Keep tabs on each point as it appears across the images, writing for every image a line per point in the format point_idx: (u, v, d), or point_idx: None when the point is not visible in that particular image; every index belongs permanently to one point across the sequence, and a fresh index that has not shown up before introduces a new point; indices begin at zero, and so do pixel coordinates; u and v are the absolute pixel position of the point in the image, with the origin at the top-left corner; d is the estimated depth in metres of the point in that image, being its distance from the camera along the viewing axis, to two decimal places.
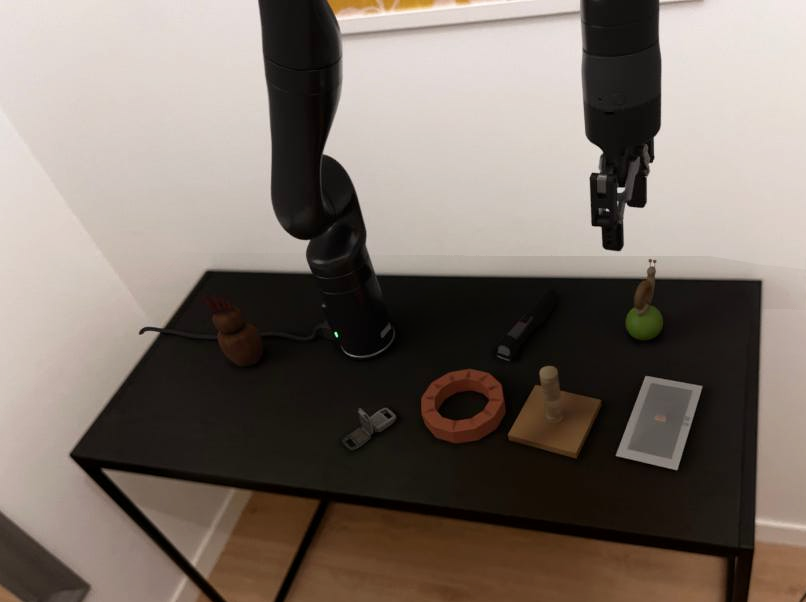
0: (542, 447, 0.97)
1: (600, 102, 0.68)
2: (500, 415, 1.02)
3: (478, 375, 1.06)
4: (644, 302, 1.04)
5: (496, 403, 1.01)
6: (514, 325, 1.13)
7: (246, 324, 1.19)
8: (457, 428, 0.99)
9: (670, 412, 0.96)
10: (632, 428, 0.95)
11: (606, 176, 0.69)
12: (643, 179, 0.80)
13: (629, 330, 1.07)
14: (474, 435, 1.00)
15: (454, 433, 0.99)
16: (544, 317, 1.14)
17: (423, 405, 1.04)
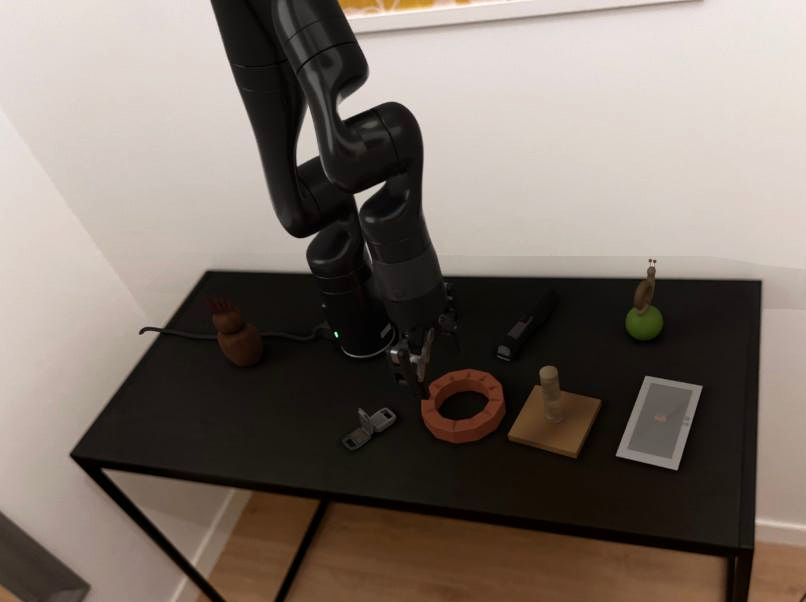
0: (542, 447, 0.97)
1: (387, 293, 0.81)
2: (500, 415, 1.02)
3: (478, 375, 1.06)
4: (644, 302, 1.04)
5: (496, 403, 1.01)
6: (514, 325, 1.13)
7: (246, 324, 1.19)
8: (457, 428, 0.99)
9: (670, 412, 0.96)
10: (632, 428, 0.95)
11: (397, 351, 0.83)
12: (452, 334, 0.93)
13: (629, 330, 1.07)
14: (474, 435, 1.00)
15: (454, 433, 0.99)
16: (544, 317, 1.14)
17: (423, 405, 1.04)
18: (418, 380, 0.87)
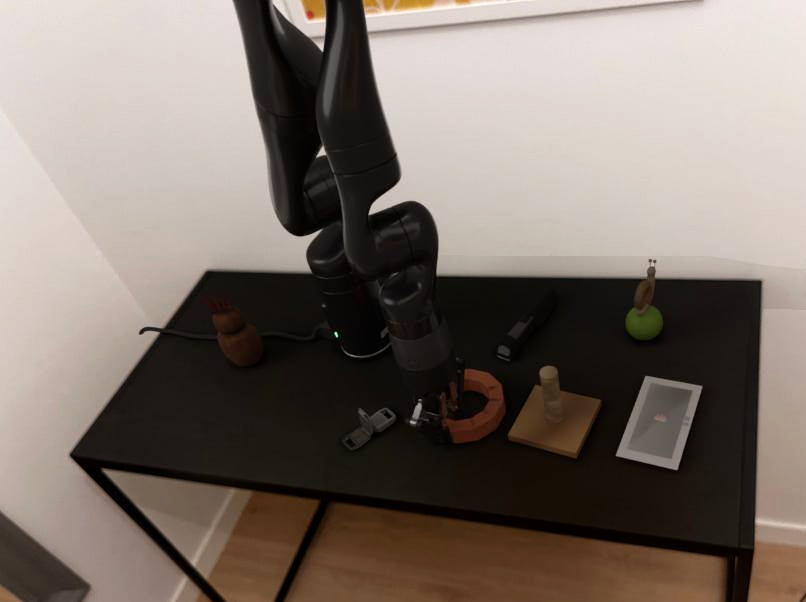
0: (542, 447, 0.97)
1: (402, 364, 0.88)
2: (500, 415, 1.02)
3: (478, 375, 1.06)
4: (644, 302, 1.04)
5: (496, 403, 1.01)
6: (514, 325, 1.13)
7: (246, 324, 1.19)
8: (457, 427, 0.99)
9: (670, 412, 0.96)
10: (632, 428, 0.95)
11: (415, 424, 0.92)
12: (453, 413, 1.00)
13: (629, 330, 1.07)
14: (474, 435, 1.00)
15: (454, 433, 0.99)
16: (544, 317, 1.14)
17: None
18: (442, 428, 0.97)
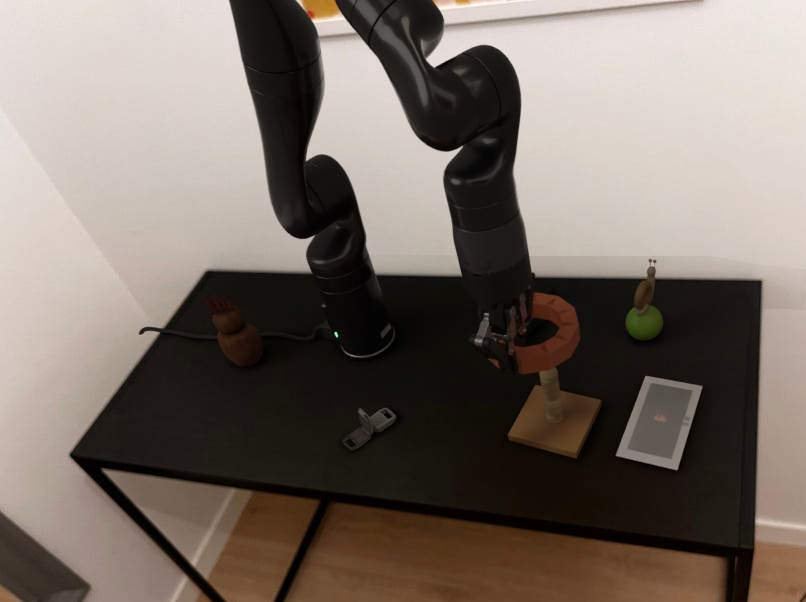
0: (542, 447, 0.97)
1: (469, 266, 0.73)
2: (575, 342, 0.86)
3: (545, 298, 0.91)
4: (644, 302, 1.04)
5: (570, 327, 0.86)
6: None
7: (246, 324, 1.19)
8: (525, 354, 0.84)
9: (670, 412, 0.96)
10: (632, 428, 0.95)
11: (482, 342, 0.76)
12: (520, 338, 0.84)
13: (629, 330, 1.07)
14: (545, 363, 0.84)
15: (522, 361, 0.84)
16: None
17: None
18: (509, 353, 0.82)
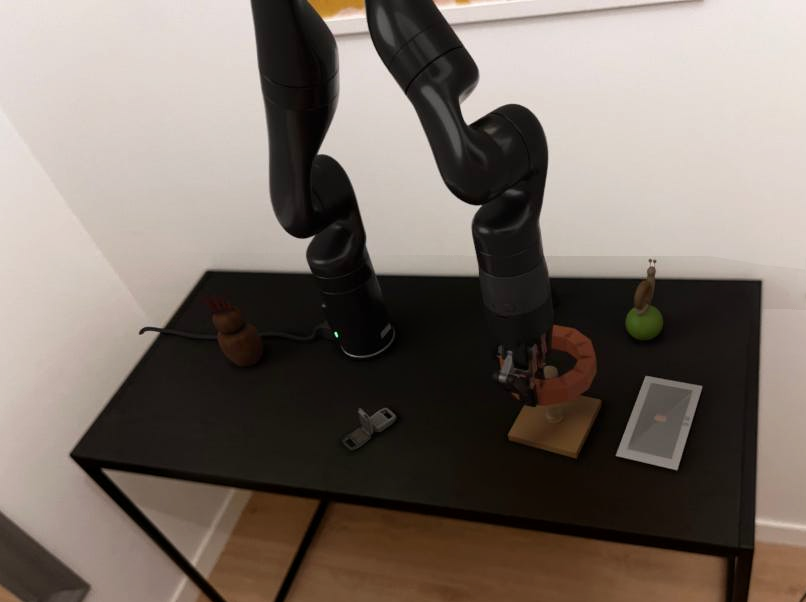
0: (542, 447, 0.97)
1: (494, 308, 0.76)
2: (592, 375, 0.90)
3: (563, 331, 0.94)
4: (644, 302, 1.04)
5: (588, 360, 0.89)
6: None
7: (246, 324, 1.19)
8: (545, 387, 0.87)
9: (670, 412, 0.96)
10: (632, 428, 0.95)
11: (505, 379, 0.80)
12: (540, 371, 0.88)
13: (629, 330, 1.07)
14: (564, 396, 0.88)
15: (542, 393, 0.87)
16: None
17: (502, 364, 0.92)
18: (530, 387, 0.85)
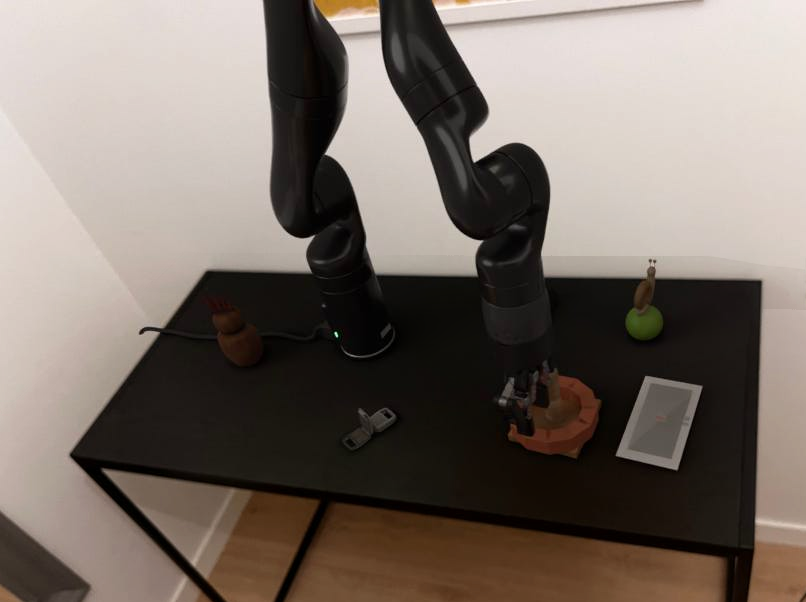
0: None
1: (497, 336, 0.78)
2: (595, 424, 0.96)
3: (565, 381, 1.00)
4: (644, 302, 1.04)
5: (590, 411, 0.95)
6: None
7: (246, 324, 1.19)
8: (551, 438, 0.93)
9: (670, 412, 0.96)
10: (632, 428, 0.95)
11: (506, 402, 0.81)
12: (544, 388, 0.90)
13: (629, 330, 1.07)
14: (570, 445, 0.94)
15: (549, 444, 0.93)
16: None
17: None
18: (527, 417, 0.86)
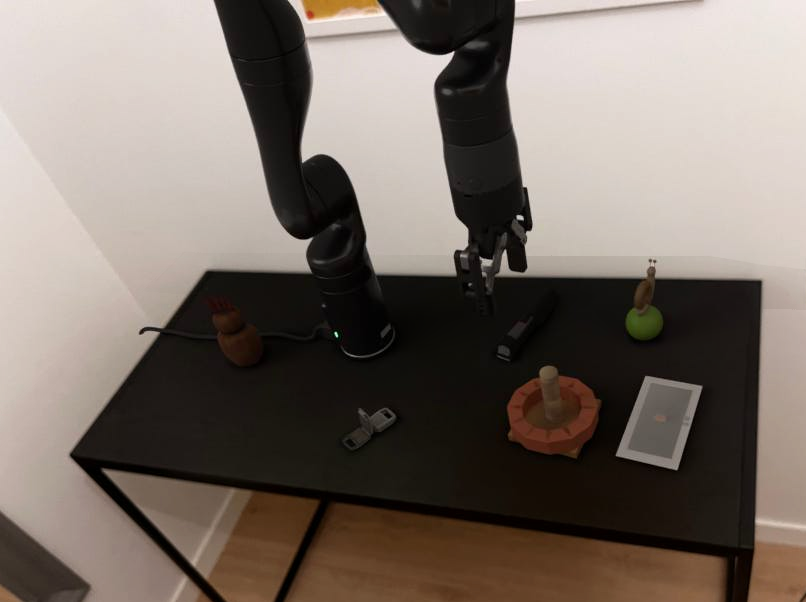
0: None
1: (459, 185, 0.70)
2: (595, 424, 0.96)
3: (565, 381, 1.00)
4: (644, 302, 1.04)
5: (590, 411, 0.95)
6: (514, 325, 1.13)
7: (246, 324, 1.19)
8: (551, 438, 0.93)
9: (670, 412, 0.96)
10: (632, 428, 0.95)
11: (468, 254, 0.72)
12: (521, 247, 0.83)
13: (629, 330, 1.07)
14: (570, 445, 0.94)
15: (549, 444, 0.93)
16: (544, 317, 1.14)
17: (510, 414, 0.97)
18: (487, 292, 0.77)
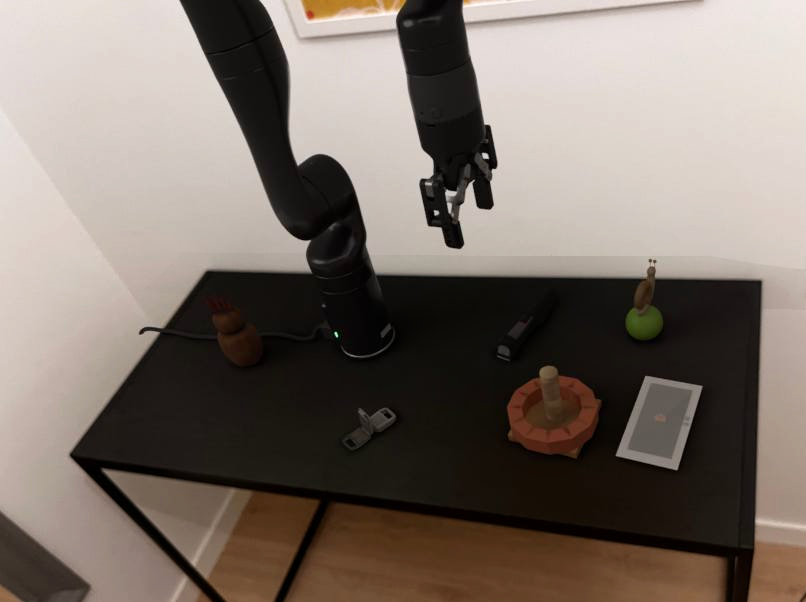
0: None
1: (422, 116, 0.76)
2: (595, 424, 0.96)
3: (565, 381, 1.00)
4: (644, 302, 1.04)
5: (590, 411, 0.95)
6: (514, 325, 1.13)
7: (246, 324, 1.19)
8: (551, 438, 0.93)
9: (670, 412, 0.96)
10: (632, 428, 0.95)
11: (432, 181, 0.78)
12: (486, 184, 0.88)
13: (629, 330, 1.07)
14: (570, 445, 0.94)
15: (549, 444, 0.93)
16: (544, 317, 1.14)
17: (510, 414, 0.97)
18: (452, 221, 0.82)
